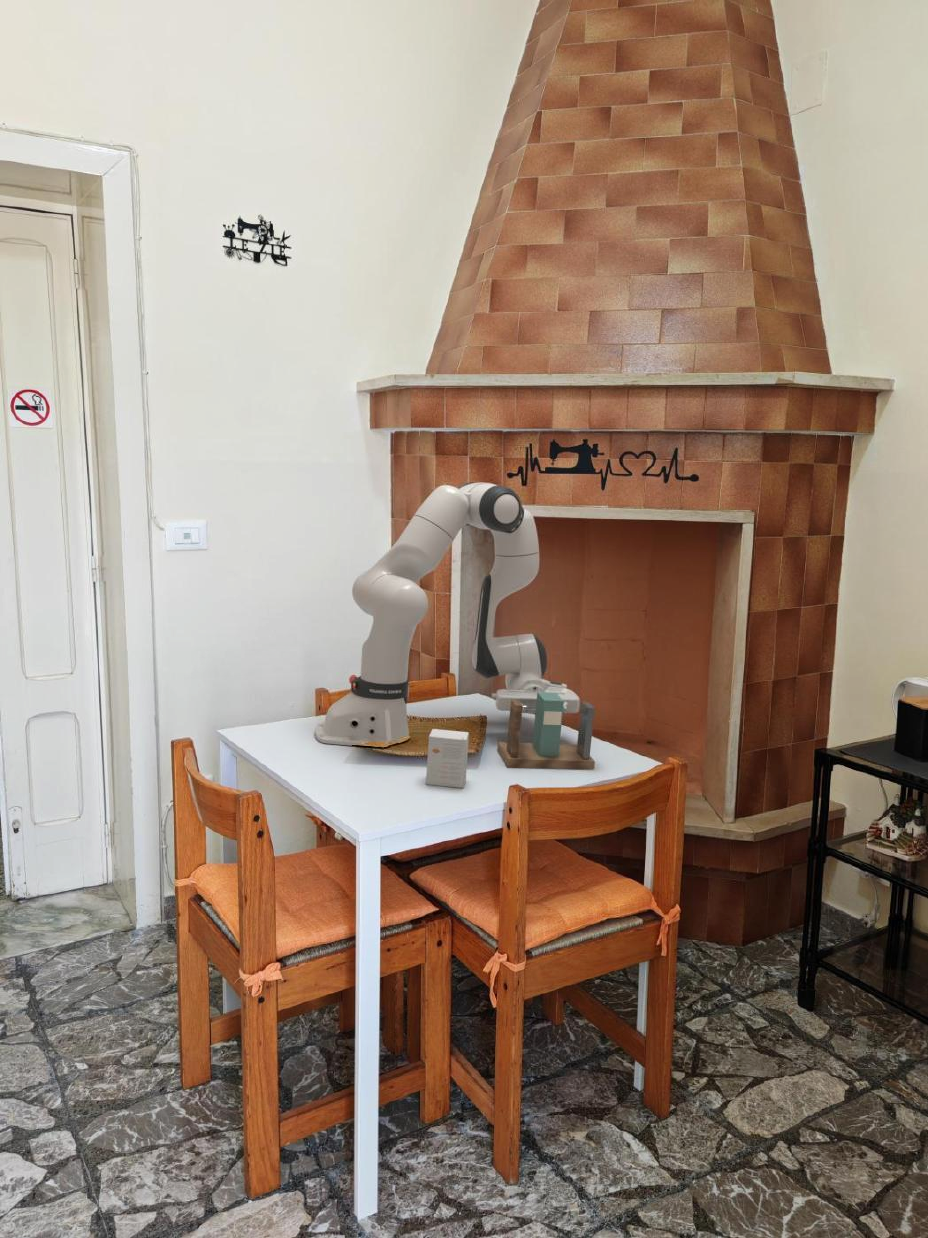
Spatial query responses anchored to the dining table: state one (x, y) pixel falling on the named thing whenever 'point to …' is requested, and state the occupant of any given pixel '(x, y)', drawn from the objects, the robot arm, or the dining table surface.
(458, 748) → the small box
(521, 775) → the dining table surface
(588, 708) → the bookend
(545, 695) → the book
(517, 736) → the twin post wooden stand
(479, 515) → the robot arm
